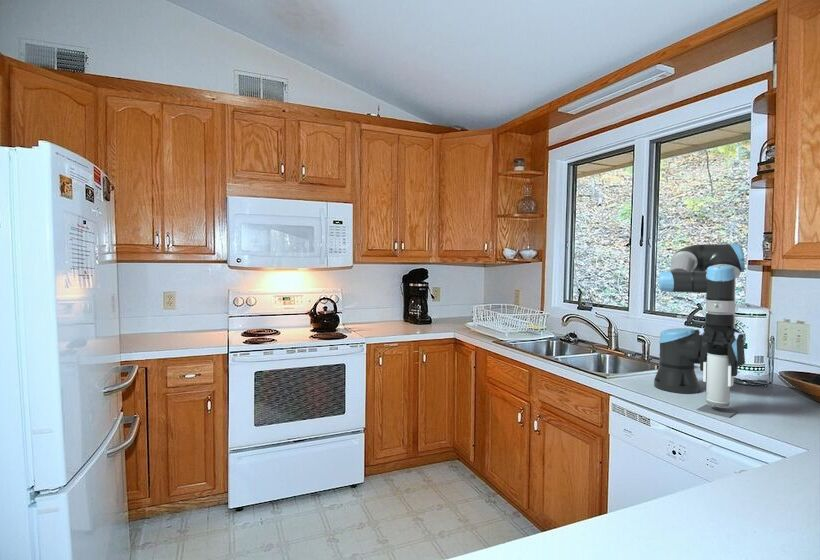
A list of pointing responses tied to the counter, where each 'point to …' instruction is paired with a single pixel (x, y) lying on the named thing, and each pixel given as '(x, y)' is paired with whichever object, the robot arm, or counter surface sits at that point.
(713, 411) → the rubber mat
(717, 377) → the travel mug
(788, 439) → the counter surface
